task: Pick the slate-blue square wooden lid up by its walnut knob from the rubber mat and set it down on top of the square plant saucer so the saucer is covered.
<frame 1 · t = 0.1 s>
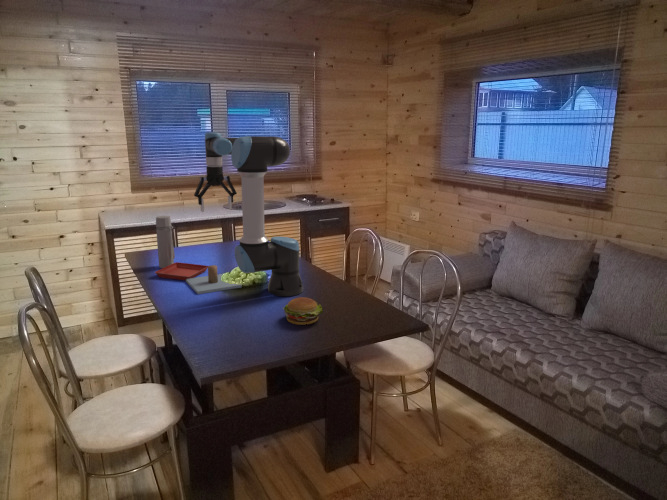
hand: (216, 210, 244), 28 cm above the table, tool pointing down, fingers open, 13 cm apart
water bottle: (168, 267, 247), on the table
lid: (213, 284, 221), resting on mat, touching plant saucer
plant saucer: (182, 276, 235), on the table, touching lid
mat: (213, 285, 222), on the table
food: (302, 320, 186), on the table
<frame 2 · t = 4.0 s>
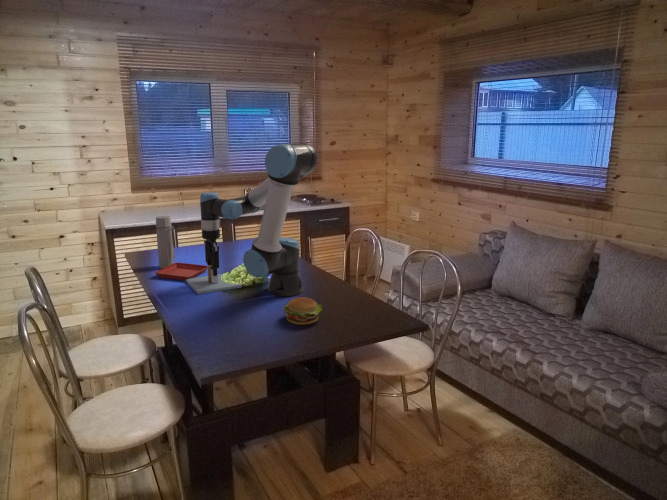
hand: (213, 280, 221), 2 cm above the table, tool pointing down, fingers closed on lid, 4 cm apart
lid: (213, 284, 221), point 1 cm above the table, touching gripper, mat
plant saucer: (182, 276, 235), on the table
everything else where it was.
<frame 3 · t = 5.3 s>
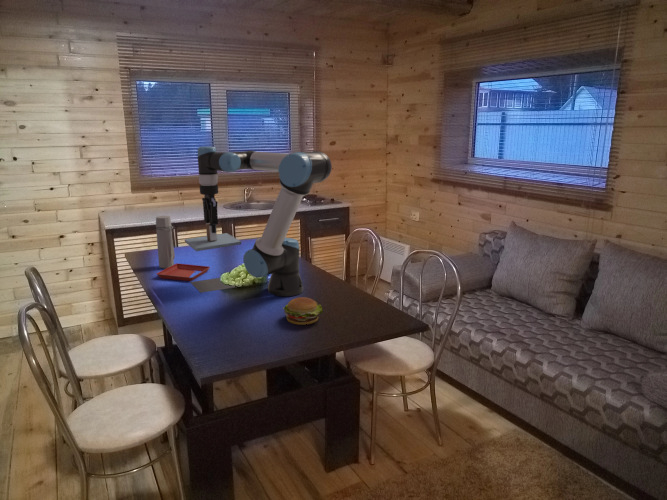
hand: (211, 238, 216), 21 cm above the table, tool pointing down, fingers closed on lid, 4 cm apart
lid: (212, 243, 217), point 19 cm above the table, touching gripper
plant saucer: (184, 277, 234), on the table
everything else where it was.
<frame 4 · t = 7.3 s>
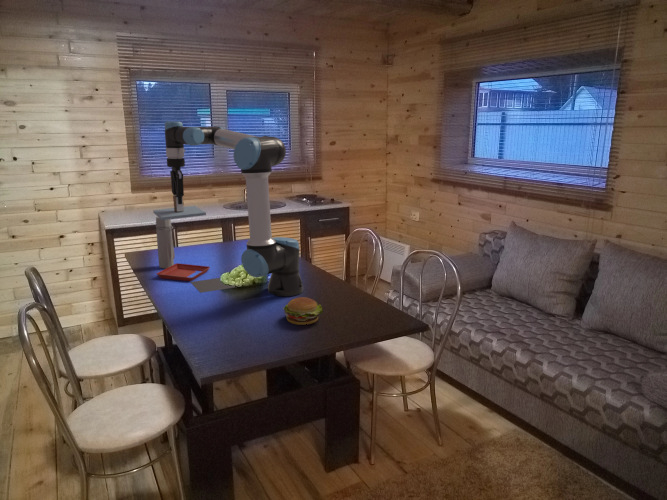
hand: (178, 210, 227), 31 cm above the table, tool pointing down, fingers closed on lid, 4 cm apart
lid: (179, 213, 228), point 29 cm above the table, touching gripper
everything else where it was.
when the fingers open (6 cm above the table, at t = 10.5 s): lid drops 2 cm, resting on plant saucer.
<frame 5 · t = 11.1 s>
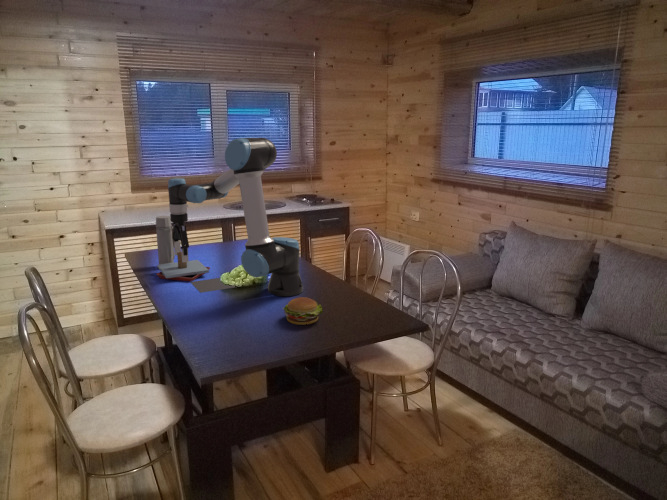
hand: (181, 258, 233), 8 cm above the table, tool pointing down, fingers open, 13 cm apart
lid: (182, 269, 234), point 3 cm above the table, touching plant saucer
plant saucer: (184, 277, 235), on the table, touching lid
everything else where it was.
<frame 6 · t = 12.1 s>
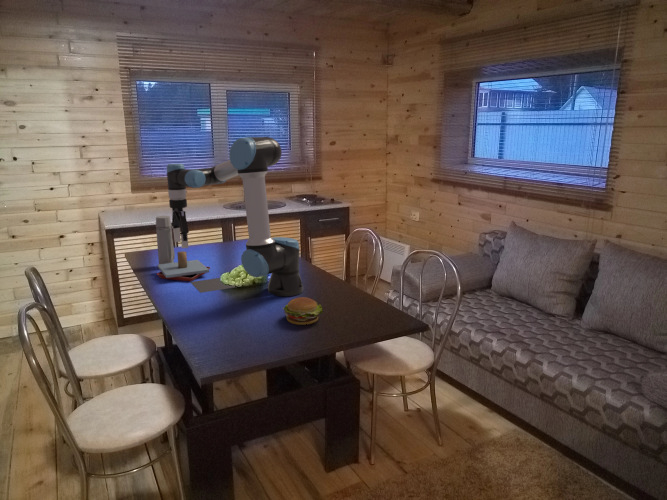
hand: (181, 244, 231), 15 cm above the table, tool pointing down, fingers open, 13 cm apart
nothing on the table moved.
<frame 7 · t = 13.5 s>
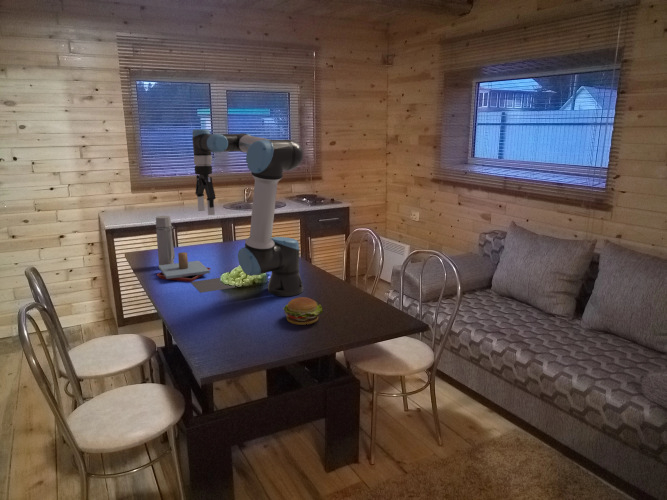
hand: (206, 212, 228), 30 cm above the table, tool pointing down, fingers open, 13 cm apart
nothing on the table moved.
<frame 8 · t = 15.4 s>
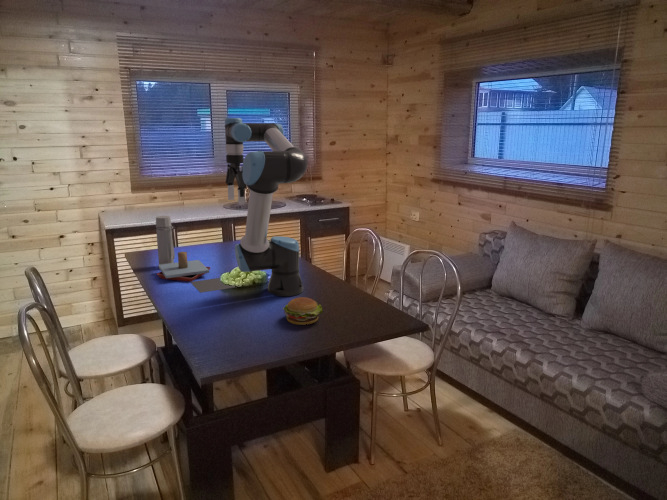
hand: (236, 201, 228), 35 cm above the table, tool pointing down, fingers open, 13 cm apart
nothing on the table moved.
at the end: lid inside the target area on the plant saucer (0.8 cm from its centre), point 3.5 cm above the plant saucer's base; lid tilted 0°; the gripper is holding nothing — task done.
